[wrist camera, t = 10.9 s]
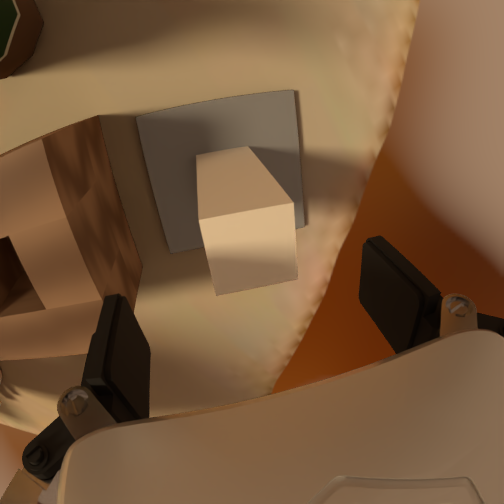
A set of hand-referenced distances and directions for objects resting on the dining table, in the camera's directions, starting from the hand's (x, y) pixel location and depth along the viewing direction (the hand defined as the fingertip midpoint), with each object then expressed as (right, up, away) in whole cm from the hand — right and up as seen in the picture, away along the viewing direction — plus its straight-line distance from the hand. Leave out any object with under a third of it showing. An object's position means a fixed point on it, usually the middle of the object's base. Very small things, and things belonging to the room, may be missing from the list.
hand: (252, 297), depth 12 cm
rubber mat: (-2, +8, +13) cm, 15 cm away
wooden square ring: (-18, +5, +12) cm, 22 cm away
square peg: (-2, +8, +12) cm, 15 cm away
